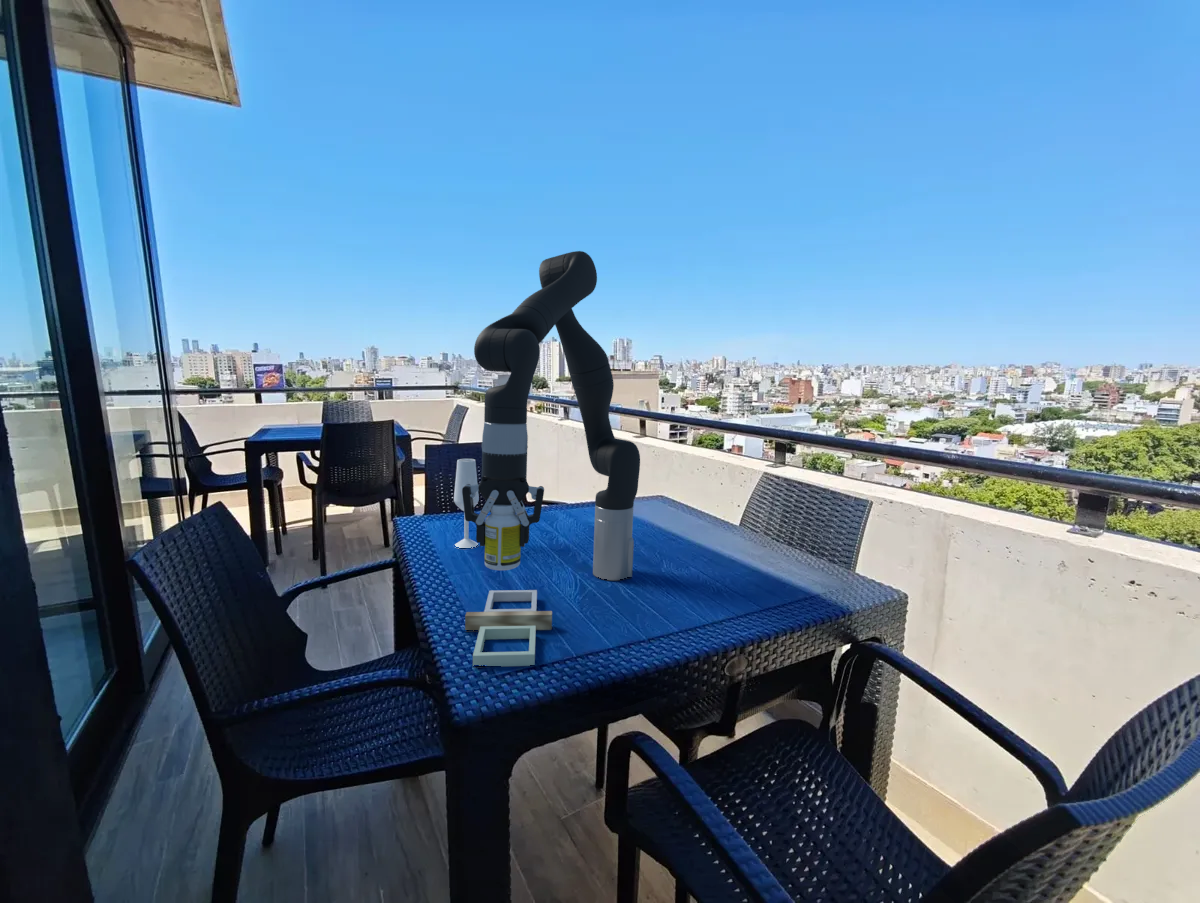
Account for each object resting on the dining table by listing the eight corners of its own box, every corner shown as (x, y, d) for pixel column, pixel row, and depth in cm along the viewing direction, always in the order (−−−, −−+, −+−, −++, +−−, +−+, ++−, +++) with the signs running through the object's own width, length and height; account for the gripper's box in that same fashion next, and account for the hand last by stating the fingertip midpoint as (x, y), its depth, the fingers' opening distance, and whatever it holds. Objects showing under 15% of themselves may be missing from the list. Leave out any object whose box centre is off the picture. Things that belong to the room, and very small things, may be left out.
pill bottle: (522, 559, 93) (524, 499, 92) (517, 572, 87) (519, 508, 86) (488, 558, 93) (489, 498, 92) (480, 570, 87) (481, 506, 86)
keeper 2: (535, 635, 96) (535, 625, 95) (534, 665, 86) (534, 654, 85) (480, 636, 94) (480, 626, 94) (472, 667, 85) (472, 655, 84)
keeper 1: (536, 598, 111) (537, 590, 111) (536, 620, 101) (536, 610, 101) (489, 599, 110) (489, 590, 110) (484, 621, 100) (484, 611, 100)
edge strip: (551, 625, 100) (551, 610, 99) (551, 629, 98) (552, 614, 98) (466, 627, 98) (466, 612, 97) (465, 631, 96) (465, 616, 96)
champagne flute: (472, 550, 141) (472, 462, 137) (449, 547, 142) (449, 461, 139) (482, 542, 147) (483, 459, 144) (460, 540, 148) (460, 457, 145)
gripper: (548, 448, 92) (544, 539, 94) (465, 445, 91) (464, 537, 93) (547, 453, 85) (543, 553, 87) (457, 450, 83) (456, 551, 85)
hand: (502, 544), depth 90 cm, fingers closed on pill bottle, 6 cm apart
